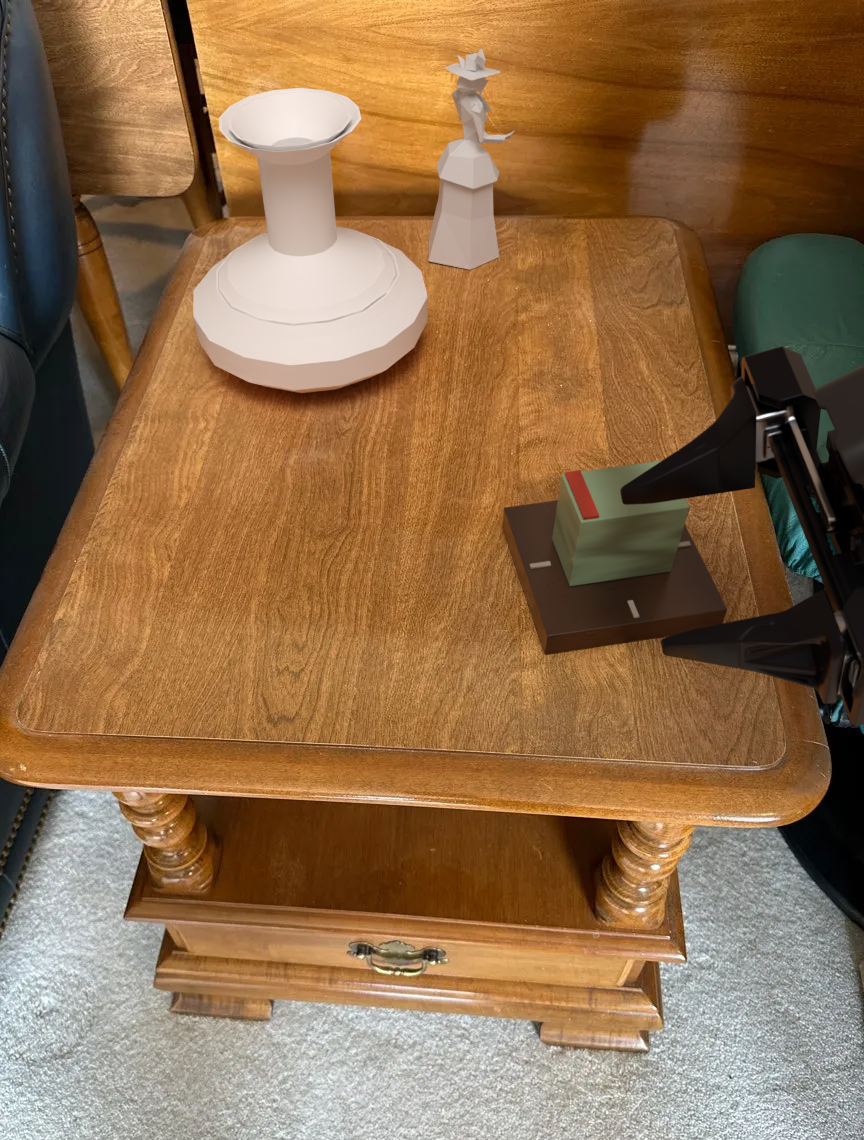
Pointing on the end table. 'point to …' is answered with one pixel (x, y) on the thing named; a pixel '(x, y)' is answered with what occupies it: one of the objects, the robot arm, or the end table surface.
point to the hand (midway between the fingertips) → (640, 568)
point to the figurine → (467, 177)
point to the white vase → (305, 262)
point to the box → (613, 527)
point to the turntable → (605, 591)
